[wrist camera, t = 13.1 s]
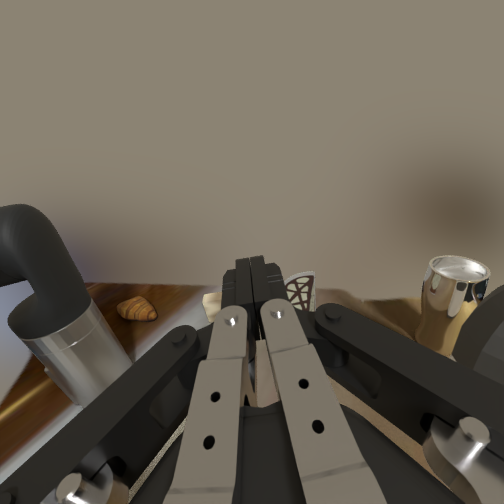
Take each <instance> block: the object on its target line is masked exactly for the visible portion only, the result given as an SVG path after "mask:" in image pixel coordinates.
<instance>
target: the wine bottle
mask: <svg viewBox="0 0 504 504" xmlns="http://www.w3.org/2000/svg"><path fill="white" fill-rule="evenodd" d="M450 359H451V360H454V361H456V362H458V363H460V364H462V365H464V366H466V367H468V368H470V369H472V370H474V371H476V372H478V373H480V374H482V375H484V376H486V377H488V378H490V379H492V380H494V381H496V382H498V383H500V384H502V385H504V285H502V286H500V287H498V288H497V289H495V290H494V291H493V292H492V293H490V294H489V295H488V296H487V297H485V298H484V299H483V300H482V301H481V302H480V304H479V305H478V306H477V307H476V308H475V309H474V310H473V312H472V313H471V314H470V316H469V317H468V318H467V319H466V321H465V322H464V323H463V325H462V326H461V329H460V332H459V335H458V337H457V340H456V343H455V345H454V348H453V351H452V353H451V356H450Z"/></svg>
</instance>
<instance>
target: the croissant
mask: <svg viewBox="0 0 504 504" xmlns="http://www.w3.org/2000/svg"><path fill="white" fill-rule="evenodd" d="M117 311H118V314H120V315H121V316H122V317H123V318H125V319H128V320H131V321H141V322H149V321H154V320H156V318H157V313H156V311H155V309H154V307H153V306H152V305H150V303H149V302H148V301H147V300H146V299H144V298H142V297H140V296H139V297H134V298H132V299H129V300H126V301H124V302H122V303H120V304H118V306H117Z"/></svg>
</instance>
